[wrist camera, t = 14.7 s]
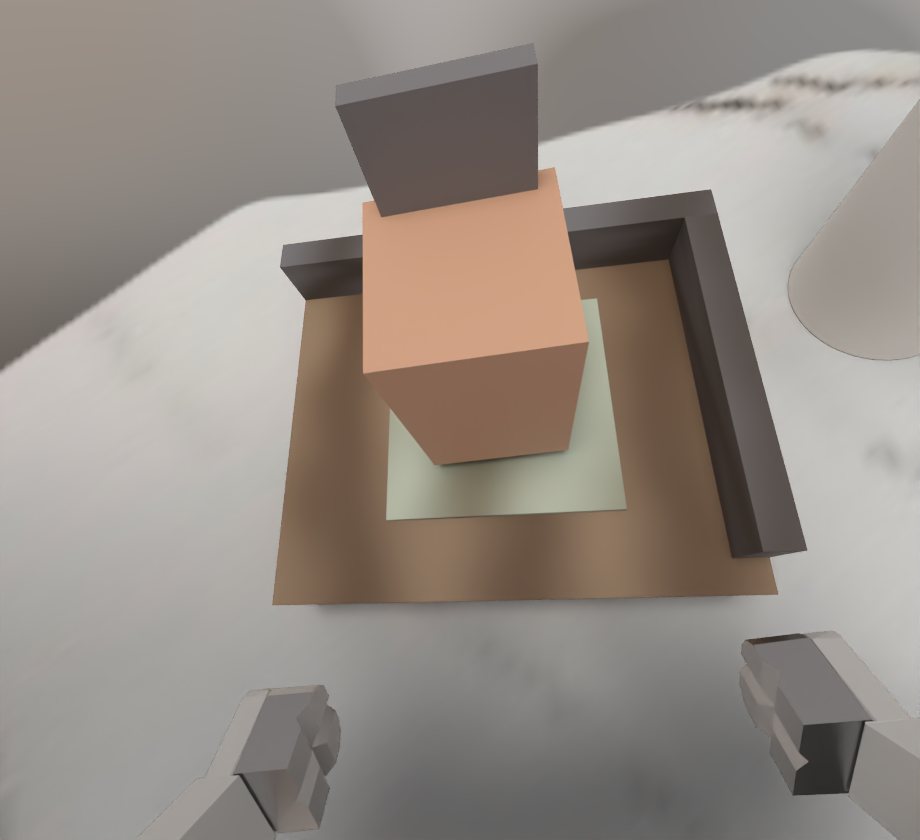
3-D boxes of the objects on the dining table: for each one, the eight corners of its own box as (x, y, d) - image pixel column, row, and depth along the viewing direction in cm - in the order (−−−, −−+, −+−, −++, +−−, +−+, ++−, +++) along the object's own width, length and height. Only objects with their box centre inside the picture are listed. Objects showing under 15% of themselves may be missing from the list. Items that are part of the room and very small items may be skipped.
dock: (317, 603, 22) (234, 605, 16) (339, 322, 27) (283, 244, 21) (733, 595, 20) (818, 593, 14) (669, 288, 25) (710, 189, 19)
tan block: (438, 470, 19) (301, 295, 8) (432, 358, 21) (312, 90, 10) (567, 455, 18) (607, 245, 7) (548, 341, 20) (559, 37, 9)
